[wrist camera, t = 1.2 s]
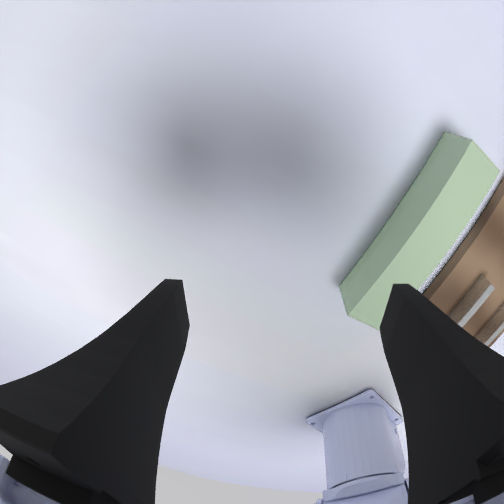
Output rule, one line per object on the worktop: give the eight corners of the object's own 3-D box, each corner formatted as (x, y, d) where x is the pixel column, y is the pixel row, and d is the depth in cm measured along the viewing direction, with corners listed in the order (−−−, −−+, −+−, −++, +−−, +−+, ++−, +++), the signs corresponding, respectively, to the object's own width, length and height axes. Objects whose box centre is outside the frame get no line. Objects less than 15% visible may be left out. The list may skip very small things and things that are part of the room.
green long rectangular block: (369, 300, 22) (381, 331, 19) (338, 284, 21) (347, 315, 18) (470, 157, 16) (499, 171, 13) (442, 131, 16) (472, 139, 13)
